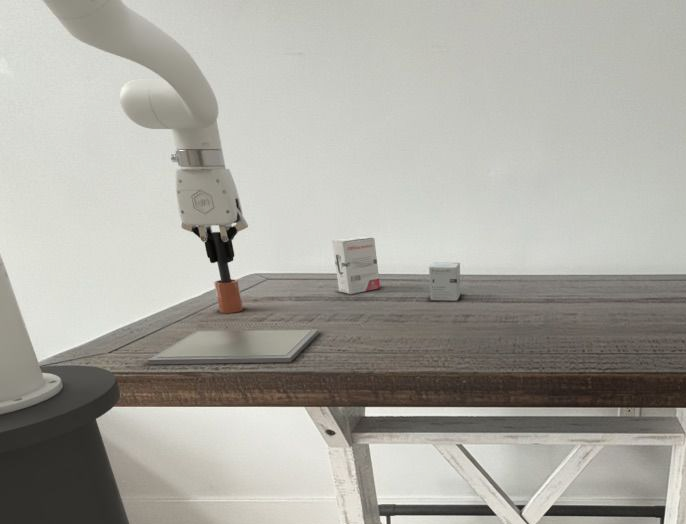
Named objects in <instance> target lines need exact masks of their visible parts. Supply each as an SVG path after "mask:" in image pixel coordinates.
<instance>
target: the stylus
mask: <svg viewBox="0 0 686 524" xmlns="http://www.w3.org/2000/svg"><path fill="white" fill-rule="evenodd" d="M211 234H212V239H213V244H214V248H215V253H216V258H217V262H216V263H217V267H218V272H219V277H220V280H221V283H229V282H231V279H232V277H231V272H230V267H229V263H224V262H223V258H222V253H221V248H220V242H222V240H221V234H220V231H212V233H211Z"/></svg>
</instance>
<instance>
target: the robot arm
mask: <svg viewBox="0 0 686 524" xmlns="http://www.w3.org/2000/svg"><path fill="white" fill-rule="evenodd" d="M42 2H43V4H45V5H46V7H47V8H48V9H49V10H50V11H51V13H52V14H53V15H54V16H55V18H57V20H58V21H59V22H60V23H61V25H62V26H63V27H64V28H65V29H66V31H67V32H68V33H69V34H70V35H71V36H72V37H73V38H75V39H76V40H78V41H80V42H81V43H84V44H86V45H88V46H91V47H92V48H95V49H98V50H100V51H103V52H105V53H108V54H112V55H113V56H114V55H115V56H116V57H120V58H123V59H126V60H129V61H131V62H134V63H136V64H139V65H140V66H142V67H145V68H146V69H148V70H150V71H152V72H153V73H155V74H157V76H159V77H144V78H136V79H131V80H129V81H127V82H126V83H125V84H123V86H122V87H121V89H120V92H119V103H120V106H121V109H122V111H123V112H124V114H125V115H126V116H127V118H128V119H130V120H131V121H132V122H133V123H135V124H136V125H138V126H140V127H142V128H144V129H145V128H146V129H150V130H171V131H172V137H173V141H174V145H175V154H170V160H171V162H172V163H177V165H178V166H179V169H178V168H177V169H175V194H176V200H177V201H176V202H177V208H178V213H179V217H180V221H181V228H182V229H183V230H185V231H188V232H190V233H193V234H194V235H196V236H197V237H198V238H199V239H200V241H201V242H202V243H203V244H204V247H205V252H206V256H207V258H208V259H209V262H210V263H211V264H215V263H217V258H216V253H215V248H214V244H213V239H212V234H211V233H212V232H213V228H212V226H218V227H219V232H220V234H221V240H222V242H220V248H221V253H222V258H223V262H224V263H228V264H229V263H231V262H233V261H234V258H235V250H234V246H233V240H234V239H235V237H236V236H237V234H238V233H239V232H241V231H243V230H245V229H248V227H249V224H248V222H247V220H246V219H245V217H244V215H243V209H242V204H241V201H240V196H239V193H238V190H237V189H238V188H237V186H236V183H235V179H234V177H233V175H232V173H231V170H230V168H226V162H225V157H224V152H223V147H222V142H221V136H220V130H219V125H218V117H219V104H218V100H217V97H216V94H215V92H214V90H213V88H212V87H211V84H210V82H209V81H208V79H207V77H206V76H205V75H204V73H203V72H202V69H200V67H199V65H198V64H197V62H196V61H195V59H194V58H193V56H192V55H191V54H190V53H189V52H188V51H187V49H186V48H185V47H184V46H182V45H181V44H180V43H179V42H178V41H177V40H175V39H174V37H172V36H170V35H169V34H168V33H166V32H165V31H164V30H162V29H161V28H160V27H159V26H157V25H156V24H154V23H153V22H151V21H149V20H148V19H147V18H145V17H144V16H143V15H141V14H139V13H137V12H136V11H134V10H133V9H131V8H129V6H128V5H126V4H125V3H124V2H123V0H42ZM233 224H235V225H233ZM19 306H20V305H19V303H18V300H17V296H16V295H15V291H14V288H13V286H12V283H11V280H10V277H9V274H8V271H7V268H6V266H5V262H4V260H3V258H2V255H1V254H0V415H3V414H7V413H11V412H15V411H18V410H21V409H25V408H28V407H31V406H33V405H36V404H39V403H41V402H43V401H46V400H48V399H50V398H51V397H53V396H55V395H56V394H58V393H59V392H60V391H61V389H62V388H63V384H62V381H61V379H60V377H58V376H56V375H53V374H49V373H42V371H41V369H40V367H41V366H40V363H39V360H38V357H37V355H36V351H35V349H34V345H33V343H32V340H31V338H30V335H29V332H28V329H27V326H26V323H25V320H24V318H23V314H22V311H21V309H20V307H19Z"/></svg>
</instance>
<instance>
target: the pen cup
mask: <svg viewBox="0 0 686 524" xmlns="http://www.w3.org/2000/svg"><path fill="white" fill-rule="evenodd" d="M213 285H214V289H215V295H216V299H217V303H218V309H219V312H220V313H222V314H235V313H238V312H242V311H243V310H244V308H243V302H242V301H243V300H242V296H241V290H240V286H239V281H238V279H234V278H231V282H229V283H221V279H219V280H215V281H214V282H213Z"/></svg>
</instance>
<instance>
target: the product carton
mask: <svg viewBox="0 0 686 524" xmlns="http://www.w3.org/2000/svg"><path fill="white" fill-rule="evenodd" d="M428 270H429V271H428V273H429V294H430V297H429V298H430V301H450V302H451V301H453V302H454V301H455V302H456V301H458V300H459V298H460V296H461V263H460V262H448V261H447V262H435V261H434V262H432V264H430V265H429V267H428Z"/></svg>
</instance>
